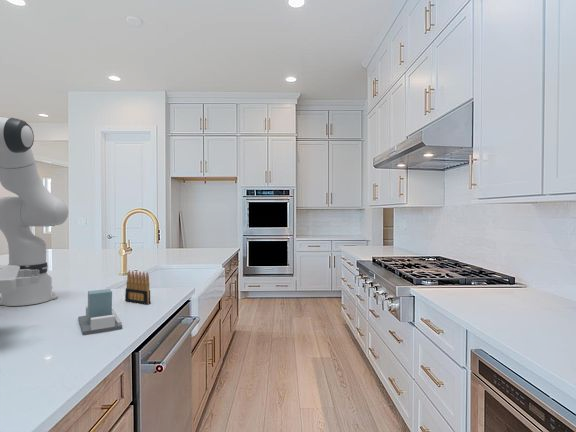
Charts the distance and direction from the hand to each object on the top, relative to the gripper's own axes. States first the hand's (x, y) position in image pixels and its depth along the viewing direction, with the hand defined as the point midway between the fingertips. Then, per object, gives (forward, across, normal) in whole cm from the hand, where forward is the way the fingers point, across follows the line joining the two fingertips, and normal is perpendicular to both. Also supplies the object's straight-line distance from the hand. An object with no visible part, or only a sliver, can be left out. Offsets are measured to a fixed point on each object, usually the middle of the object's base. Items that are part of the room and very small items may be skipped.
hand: (39, 276), depth 96 cm
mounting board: (+15, -1, +16) cm, 22 cm away
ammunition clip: (+30, +19, +17) cm, 40 cm away
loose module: (+15, -1, +15) cm, 21 cm away
